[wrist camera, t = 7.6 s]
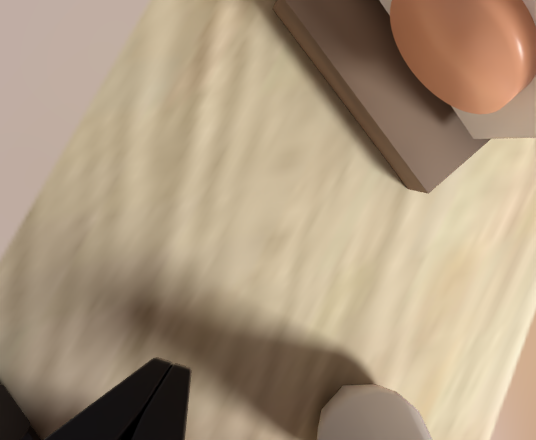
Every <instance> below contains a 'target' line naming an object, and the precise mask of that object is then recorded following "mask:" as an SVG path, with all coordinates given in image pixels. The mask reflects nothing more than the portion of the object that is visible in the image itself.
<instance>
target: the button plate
mask: <svg viewBox="0 0 536 440" xmlns="http://www.w3.org/2000/svg"><path fill="white" fill-rule="evenodd" d="M379 1H380V2H381V4H382V5H383V7H384V8H385V10H386V11H387V12H388V14H389V15H390V23H391V29H392V33H393V36H394V39H395V42H396V45H397V47H398V49H399V51H400V53H401V55H402V57H403V59H404V60H405V62H406V64H407V65H408V67H409V68H410V69H411V71H412V72H413V73H414V75H415V76H416V77H417V78H418V79H419V81H420V82H421V83H422V84H423V85H424V86H425V87H426V88H427V89H428V90H430V91H431V92H432V93H433V94H434V95H436V96H437V97H438V98H440V99H441V100H443V101H444V102H446V103H447V104H449V105H451V107H452V108H453V109H454V111H455V112H456V114H457V115H458V117H459V118H460V120H461V121H462V123H463V124H464V126H465V127H466V129H467V130H468V132H469V133H470V134H471V136H472V137H473V139H496V138H536V0H379Z"/></svg>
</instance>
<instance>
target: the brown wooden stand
mask: <svg viewBox="0 0 536 440" xmlns="http://www.w3.org/2000/svg"><path fill="white" fill-rule="evenodd" d="M273 10H274V11H275V13H276V14H277V15H278V17H279V18H280V19H281V21H282V22H283V23H284V25H285V26H286V27H287V29H288V30H289V31H290V33H291V34H292V35H293V37H294V38H295V39H296V41H297V42H298V43H299V45H300V46H301V47H302V49H303V50H304V51H305V53H306V54H307V55H308V57H309V58H310V59H311V61H312V62H313V63H314V65H315V66H316V67H317V69H318V70H319V71H320V73H321V74H322V75H323V77H324V78H325V79H326V81H327V82H328V83H329V85H330V86H331V87H332V88H333V90H334V91H335V92H336V94H337V95H338V96H339V98H340V99H341V100H342V102H343V103H344V104H345V106H346V107H347V108H348V110H349V111H350V112H351V114H352V115H353V116H354V118H355V119H356V120H357V122H358V123H359V124H360V126H361V127H362V128H363V130H364V131H365V132H366V134H367V135H368V136H369V138H370V139H371V140H372V142H373V143H374V144H375V146H376V147H377V148H378V150H379V151H380V152H381V154H382V155H383V156H384V158H385V159H386V160H387V162H388V163H389V164H390V165H391V167H392V168H393V169H394V171H395V172H396V173H397V175H398V176H399V177H400V179H401V180H402V181H403V183H404V184H405V185H406V187H407V188H408V189H410V190H415V191H420V192H424V193H429V192H431V191H432V190H433V189H434V188H435V187H436V186H437V185H439V184H440V183H441V182H442V181H443V180H444V179H446V178H447V177H448V176H449V175H450V174H451V173H452V172H454V171H455V170H456V169H457V168H458V167H459V166H460V165H462V164H463V163H464V162H465V161H466V160H467V159H468V158H470V157H471V156H472V155H473V154H474V153H475V152H477V151H478V150H479V149H480V148H481V147H482V146H483V145H485V144H486V143H487V142H488V141H489V140H490V139H473V137H472V136H471V134H470V133H469V132H468V130H467V129H466V127H465V126H464V124H463V123H462V121H461V120H460V118H459V117H458V115H457V114H456V112H455V111H454V109H453V108H452V107H451V105H449V104H447V103H446V102H444V101H443V100H441V99H440V98H438V97H437V96H436V95H434V94H433V93H432V92H431V91H430V90H428V89H427V88H426V87H425V86H424V85H423V84H422V83H421V82H420V81H419V79H418V78H417V77H416V76H415V75H414V73H413V72H412V71H411V69H410V68H409V67H408V65H407V64H406V62H405V60H404V59H403V57H402V55H401V53H400V51H399V49H398V47H397V45H396V42H395V39H394V36H393V33H392V29H391V23H390V15H389V14H388V12H387V11H386V10H385V8H384V7H383V5H382V4H381V2H380V1H379V0H277V1H276V3H275V5H274V7H273Z"/></svg>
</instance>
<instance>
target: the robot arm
mask: <svg viewBox="0 0 536 440" xmlns="http://www.w3.org/2000/svg"><path fill="white" fill-rule="evenodd" d="M190 382H191V368H190V367H187V366H184V365H180V364H176V363H175V364H173V363H172V362H171V361H168V360H165V359H161V358H158V357H156V358H153V359H151V360H150V361H149V362H147V363H146V364H145V365H143V366H142V367H141V368H139V369H138V370H137V371H135V372H134V373H133V374H131V375H130V376H129V377H127V378H126V379H125V380H123V381H122V382H121V383H119V384H118V385H117V386H115V387H114V388H112V389H111V390H110V391H108V392H107V393H106V394H104V395H103V396H102V397H100V398H99V399H98V400H96V401H95V402H94V403H92V404H91V405H90V406H88V407H87V408H86V409H84V410H83V411H82V412H80V413H79V414H78V415H76V416H75V417H74V418H72V419H71V420H70V421H68V422H67V423H65V424H64V425H63V426H61V427H60V428H59V429H57V430H56V431H55V432H53V433H52V434H51V435H49V436H48V437H47V438H45V439H44V440H185V432H186V422H187V412H188V402H189V392H190ZM0 440H41V439H40V438H39V436H38V435H37V434H36V432H35V431H34V430H33V428H32V427H31V425H30V422H29V421H28V419H27V418H26V417H25V415H24V414H23V412H22V411H21V410H20V408H19V407H18V405H17V404H16V403H15V401H14V400H13V398H12V397H11V396H10V394H9V393H8V391H7V390H6V389H5V387H4V386H3V385H1V384H0Z"/></svg>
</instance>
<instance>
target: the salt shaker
mask: <svg viewBox="0 0 536 440" xmlns="http://www.w3.org/2000/svg"><path fill="white" fill-rule="evenodd" d="M317 440H432V438H431V435H430V433H429V431H428V429H427V427H426V425H425V423H424V420H423V418H422V416H421V414H420V412H419V410H417V409H416V408H415V407H414V406H413V405H411V404H410V403H409V402H408V401H407V400H406V399H404V398H403V397H402V396H401V395H400V394H398V393H397V392H395V391H392V390H390V389H387V388H384V387H381V386H378V385H375V384H364V385H343V386H342V387H341V388H340V389H339V390H338V392H337V393H336V394H335V395H334V396H333V397H332V398H331V399H330V401H329V402H328V403H327V404H326V405H325V406H324V407H323V408H322V410H321V415H320V420H319V426H318V434H317Z"/></svg>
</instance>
